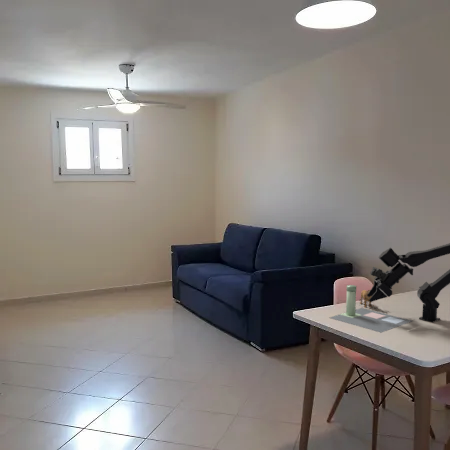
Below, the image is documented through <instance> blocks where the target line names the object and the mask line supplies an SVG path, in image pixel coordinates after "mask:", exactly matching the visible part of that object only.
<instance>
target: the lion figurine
mask: <svg viewBox="0 0 450 450" xmlns="http://www.w3.org/2000/svg"><path fill="white" fill-rule="evenodd" d="M370 290H371V289H368V290H366V289H363V290H361V292H360V299H359V301H360V302H359V304H360V305H362V304H363V302H364V309H366V307H367V308H368V307H369V308H372V307H373V306H372V302H370V301H369V299H370V298H371V297H372V296H370V297H368V296H367V295H368V293H369V292H370ZM363 299H364V300H363ZM367 302H368V304H367ZM367 305H368V306H367Z"/></svg>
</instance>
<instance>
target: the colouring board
mask: <svg viewBox="0 0 450 450" xmlns="http://www.w3.org/2000/svg"><path fill="white" fill-rule="evenodd" d="M328 318H329V319H332V320H335V321H338V322H341V323H342V322H343V323H346V324H349V325H351V326H356V327H360V328H363V329H367V330H371V331H374V332H377V333H380V334H381V333H385V332H387V331H390V330H392V329H395V328H397V327H401V326H403V325H406V324H409V323H412V322H413V320H411V319H408V318H404V317H403V318H402V317H399V316H396V315H391V314H387V313H383V312H380V311H379V312H378V311H375V310H371V309H366V308H365V307H364V308H363V307H361V308H356V312H355V316H348V315H346V312H344V313H340V314H337V315H334V316H330V317H328Z"/></svg>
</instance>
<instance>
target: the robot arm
mask: <svg viewBox="0 0 450 450" xmlns="http://www.w3.org/2000/svg"><path fill="white" fill-rule="evenodd" d="M447 255H450V242H449V243H446V244H442V245H439V246H435V247H433V248H429V249H424V250H414V251H408V252H407V253H405V254H399V255H398V254H397V253H396V252H395V251H394V249H393V248H392V247H389V248H388V249H386V250H384V251H382V253H381V254H380V255H379V256H378V259H379V260H380V261H381V262H382V263H383V264H384V265H385V266H387V267H388V268H391V269H390V270H386V271H383V269H380V268H378V267H374V266H373V267H372V269H371V271H370V276H373V277H374V279H373V286H372V287H371V289H369V290H370V292H369V293H368V295H367V296H368V297H370V296H372V297H371V298H370V299H369V301H370V302H371V303H372V302H375V301H378V300H382V299H385V298H386V299H387V298H390V297H391V296H392V295H393V290H392V289H393V287H394V286H395V285H396V284H399V283H400V280H402V279H403V278H404V277H405V276H406V275H407V274H410V275H411V276H413V275H414V268H415V267H416V268H417V267H419V266H421V265H423V264H425V263H426V262H428V261H430V260H432V259H435V258H440V257H442V256H443V257H444V256H447ZM402 263H403V264H402ZM409 266H410V267H411V268H410V267H409ZM449 285H450V268H449V269H448V270H447V271H446V272H445V273H443V274H441V276H439V277H438V278H437V279H436V280H435V281H433V282H431V283H429V282H427V281H426V282H424V283H423V284H422V285H421V286H418V288H419V289H418V290H417V292H416V294H417V298H418V299H419V300H420V301H421V302H422V311H421V313H422V316H420V317H419V318H418V319H419V320H422V321H426V322H429V323H434V322H437V321H440V320H441V317H438V315H437V314H438V308H440V307H439V306H440V302H439V301H438V300H437V299H436V298H437V297H438V296H439V295H440V292H441V291H442V290H443V289H445V288H446V287H447V286H449Z"/></svg>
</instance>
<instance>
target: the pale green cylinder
mask: <svg viewBox="0 0 450 450" xmlns="http://www.w3.org/2000/svg"><path fill="white" fill-rule="evenodd" d="M356 303H357V285H354V284H349V285H348V284H347V285H346V302H345V305H346V306H345V308H346V309H345V313H346V315H348V316H355V312H356V309H357V308H356V307H357V305H356Z"/></svg>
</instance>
